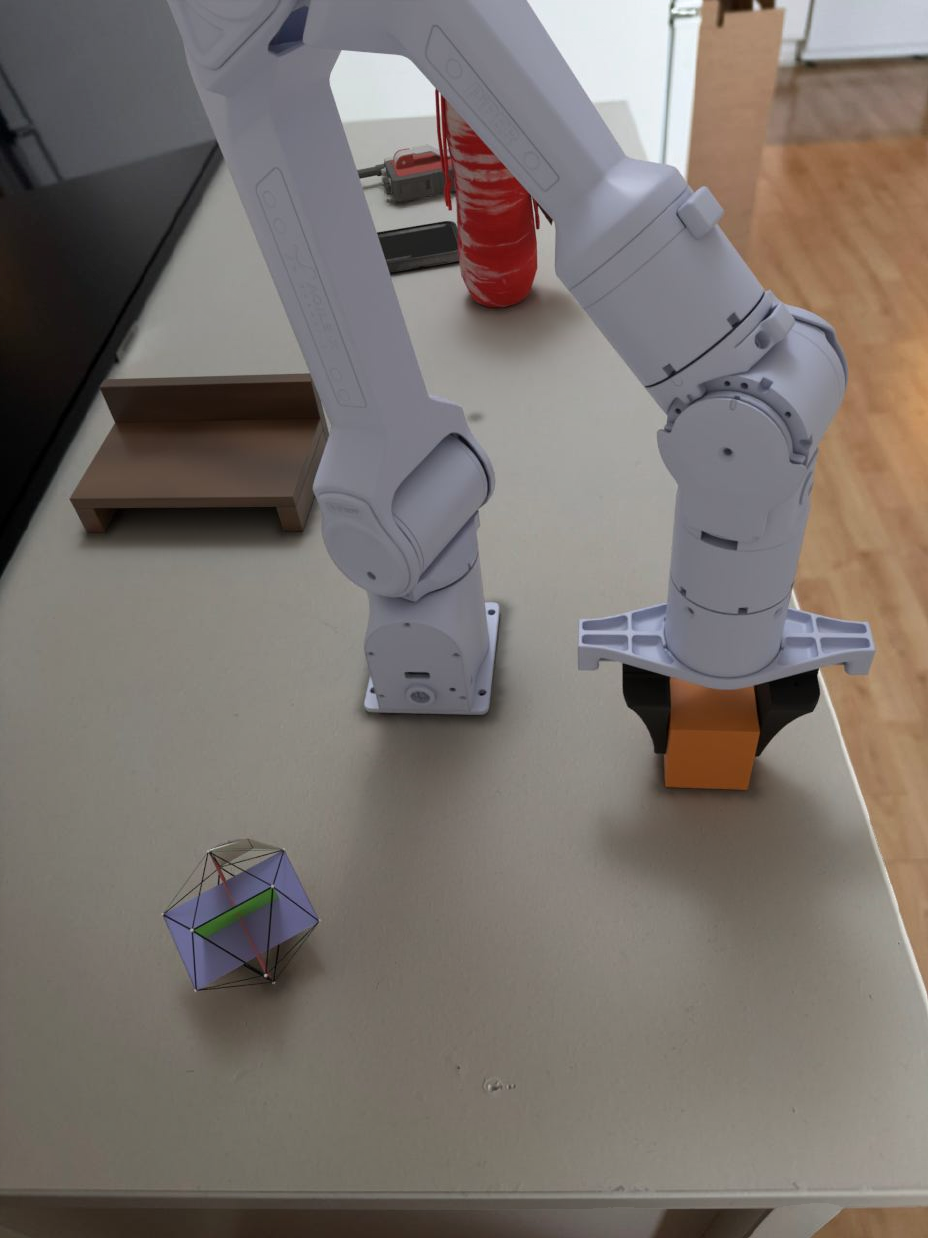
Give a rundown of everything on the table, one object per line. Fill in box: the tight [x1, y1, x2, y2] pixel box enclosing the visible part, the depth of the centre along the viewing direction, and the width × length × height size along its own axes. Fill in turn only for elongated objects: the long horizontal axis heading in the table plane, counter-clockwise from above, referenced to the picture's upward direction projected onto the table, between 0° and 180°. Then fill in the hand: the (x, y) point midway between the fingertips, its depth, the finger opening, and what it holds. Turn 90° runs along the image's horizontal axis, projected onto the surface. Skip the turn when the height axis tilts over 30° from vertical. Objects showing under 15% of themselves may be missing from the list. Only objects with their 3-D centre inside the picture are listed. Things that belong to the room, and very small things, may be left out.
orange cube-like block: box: [663, 677, 760, 791], centre depth 54 cm, size 5×5×6 cm
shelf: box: [69, 372, 330, 533], centre depth 76 cm, size 11×18×7 cm, turn 84°
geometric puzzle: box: [160, 838, 322, 993], centre depth 48 cm, size 7×7×8 cm
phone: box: [376, 220, 459, 274], centre depth 103 cm, size 8×1×15 cm
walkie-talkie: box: [357, 144, 455, 203], centre depth 114 cm, size 9×4×20 cm
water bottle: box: [434, 88, 554, 308], centre depth 87 cm, size 12×8×25 cm, turn 91°
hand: (706, 741), depth 55 cm, fingers closed on orange cube-like block, 4 cm apart
